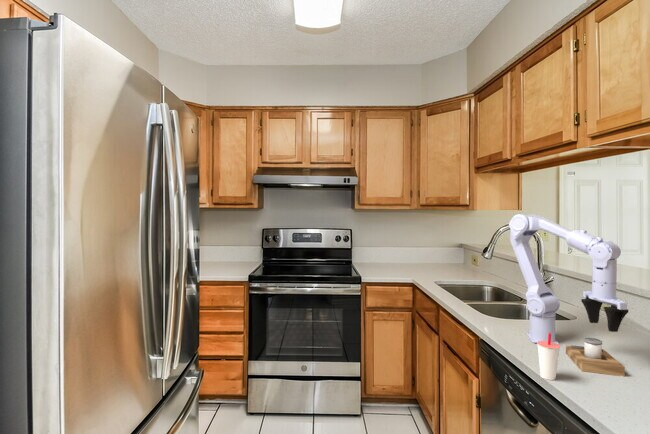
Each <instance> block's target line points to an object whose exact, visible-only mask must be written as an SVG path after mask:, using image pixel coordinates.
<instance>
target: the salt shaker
mask: <svg viewBox="0 0 650 434" xmlns="http://www.w3.org/2000/svg"><path fill="white" fill-rule="evenodd" d="M583 341H584V343H583V344H584V345H583V347H584V357H585V358H591V359H600V360H601V353H602V349H603V348H602V346H603V341H602V340H601V339H599V338H594V337H583Z"/></svg>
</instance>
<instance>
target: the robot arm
mask: <svg viewBox="0 0 650 434" xmlns="http://www.w3.org/2000/svg"><path fill="white" fill-rule="evenodd" d="M508 227H509V229H510V237H509V241H510V244H511V247H512V251H513V252H514V255H515V258H516V260H517V263H518V266H519V268H520V271H521V274H522V276H523V278H524V282H525V283H526V286H527V290H526V292H525V298H526V308H527V309H528V311H529V312H530V314H529V318H528V320H529V322H528V324H529V325H528V326H529V327H528V331H529V332H528V331H527V332H525V334H526V335H527V337H528V339H529V340H530V341H531V342H532V344H533V343H534V344H537V342H538V341H548V334H549V333H550V334H551V342H553V343H556V344H558V345H560V343H559V342H558V341H557V340H556V312H557V311H558V310H559V309H560V306H561V304H560V301H559V298H558V297H557V296H556V295H555V294H554V292H553V290H552V289H551V288H550V287H549V286H547V285H546V283H545V281H544V278H543V276H542V272H541V271H540V268H539V265H538V263H537V261H536V258H535V256H534V254H533V251H532V248H531V246H530V240H531V239H532V237H533V236H534V235H535V234H536V233H538V231H544V232H546V233H549V234H551V235H553V236H556V237H559V238H561V239H563V240H565V241H566V244H567V246H570V247H571V248H574V249H576V250H577V251H580V252H581V253H584V254H586V255H589V257H590V259H591V260H592V272H591V273H592V274H591V275H592V277H591V279H592V280H591V290H582V291H583V293H582V294H583V295H582V297H583V298H581V303H582V304H583V307H584V308H585V311H586V314H587V317H588V321H589V323H590V324H599V320H600V312H601V309H602V305H603V304H605V305H609V306H603V310H604V312H605V314H606V315H605V316H606V319H607V320H606V321H607V328H608V332H611V333H614V332H615V333H617V332H618V331H619V329H620V326H621V323H622V322H623V319H624V318H625V317H626V315H627V314H628V313H629V309H628V303H627V302H626V301H623V300H622V299H619V298H618V297H617V276H618V275H617V272H618V268H617V265H618V264H617V262H618V261H617V259H618V258H619V257H621V254H622V253H621V250H622V249H621V248H620V246H619V245H618V244H617V243H615V242H614V241H612V240H605V241H604V238H602V237H600V236H598V237H596V236H594V235H591V234H590V233H588V232H587V231H588V230H585V229H575V230H570V229H569V228H567V227H565V226H562V225H561V224H558V223H557V222H554V221H552V220H551V219H548V218H546V217H545V216H542V215H538V214H535V213H532V214H531V213H530V214H521V213H518V214H515V215H514V216H512V217H511V219H510V221H509V223H508Z"/></svg>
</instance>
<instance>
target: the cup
mask: <svg viewBox="0 0 650 434" xmlns="http://www.w3.org/2000/svg"><path fill="white" fill-rule="evenodd" d="M536 345H537V351H538V353H537V354H538V365H539V373H540V377H541V378H543V380H547V381H554V380H556V376H557V372H558V371H557V370H558V362H559V356H560V348H561V345H560V344H559V345H558V344H556V343H553V342H551V334H550V333H549V334H548V341H538V342H537V343H536Z"/></svg>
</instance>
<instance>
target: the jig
mask: <svg viewBox="0 0 650 434" xmlns="http://www.w3.org/2000/svg"><path fill="white" fill-rule="evenodd" d="M565 354H566V355H567V356H568V358H569V359H570V360H571V361H572V362H573V363H574V364H575V365H576V367H577V368H578V369H579V370H580V371H581V372H586V373H594V374H600V375H601V374H603V375H611V376H617V377H619V376H620V377H625V374H626V372H625V371H626V367H625V366H624V365H623V364H622V363H621V362H619V360H617V359H616V358H614V357H613V356H612V355H611V354H610V353H609V352H608V351H606V350H605V349H604V348H602V353H601V360H600V359H591V358H585V357H584V346H581V345H570V344H569V345H567V344H565Z"/></svg>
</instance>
